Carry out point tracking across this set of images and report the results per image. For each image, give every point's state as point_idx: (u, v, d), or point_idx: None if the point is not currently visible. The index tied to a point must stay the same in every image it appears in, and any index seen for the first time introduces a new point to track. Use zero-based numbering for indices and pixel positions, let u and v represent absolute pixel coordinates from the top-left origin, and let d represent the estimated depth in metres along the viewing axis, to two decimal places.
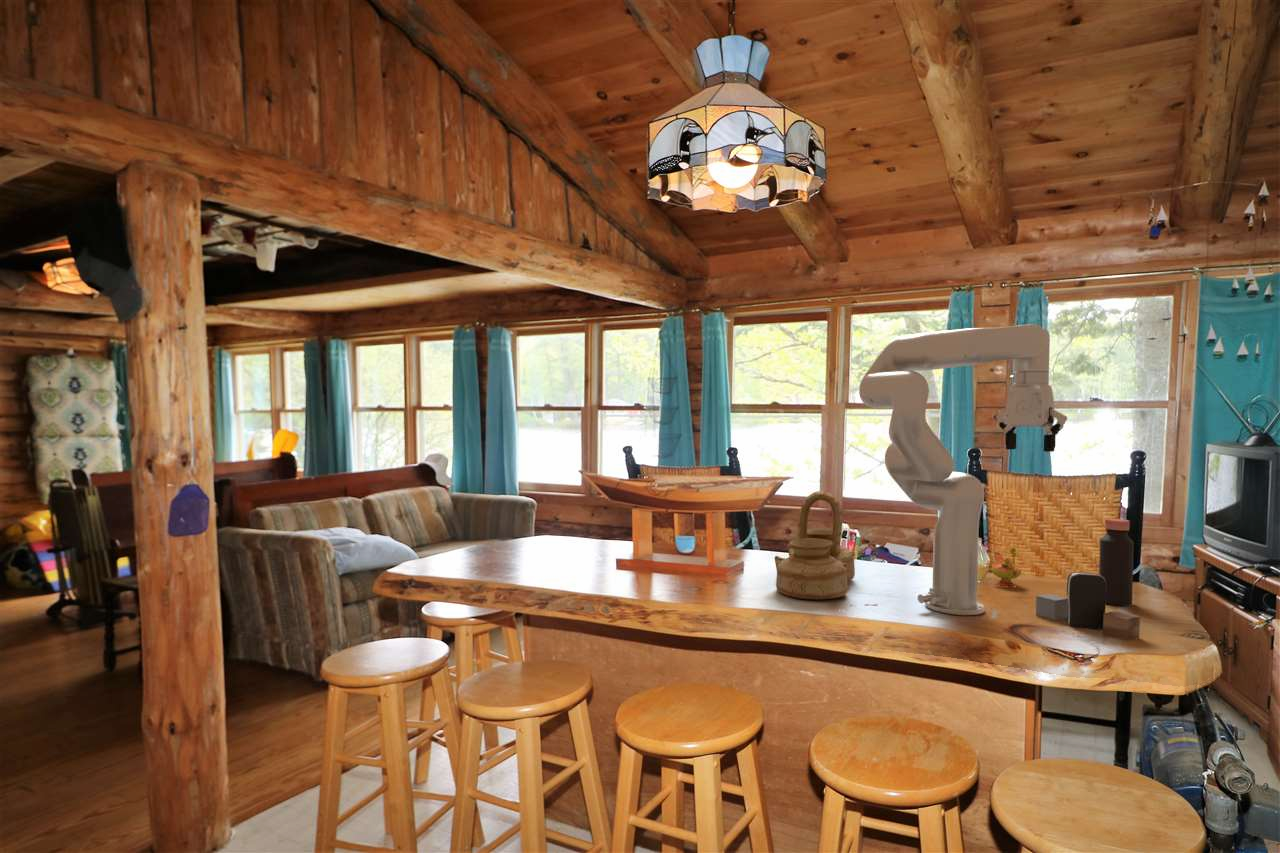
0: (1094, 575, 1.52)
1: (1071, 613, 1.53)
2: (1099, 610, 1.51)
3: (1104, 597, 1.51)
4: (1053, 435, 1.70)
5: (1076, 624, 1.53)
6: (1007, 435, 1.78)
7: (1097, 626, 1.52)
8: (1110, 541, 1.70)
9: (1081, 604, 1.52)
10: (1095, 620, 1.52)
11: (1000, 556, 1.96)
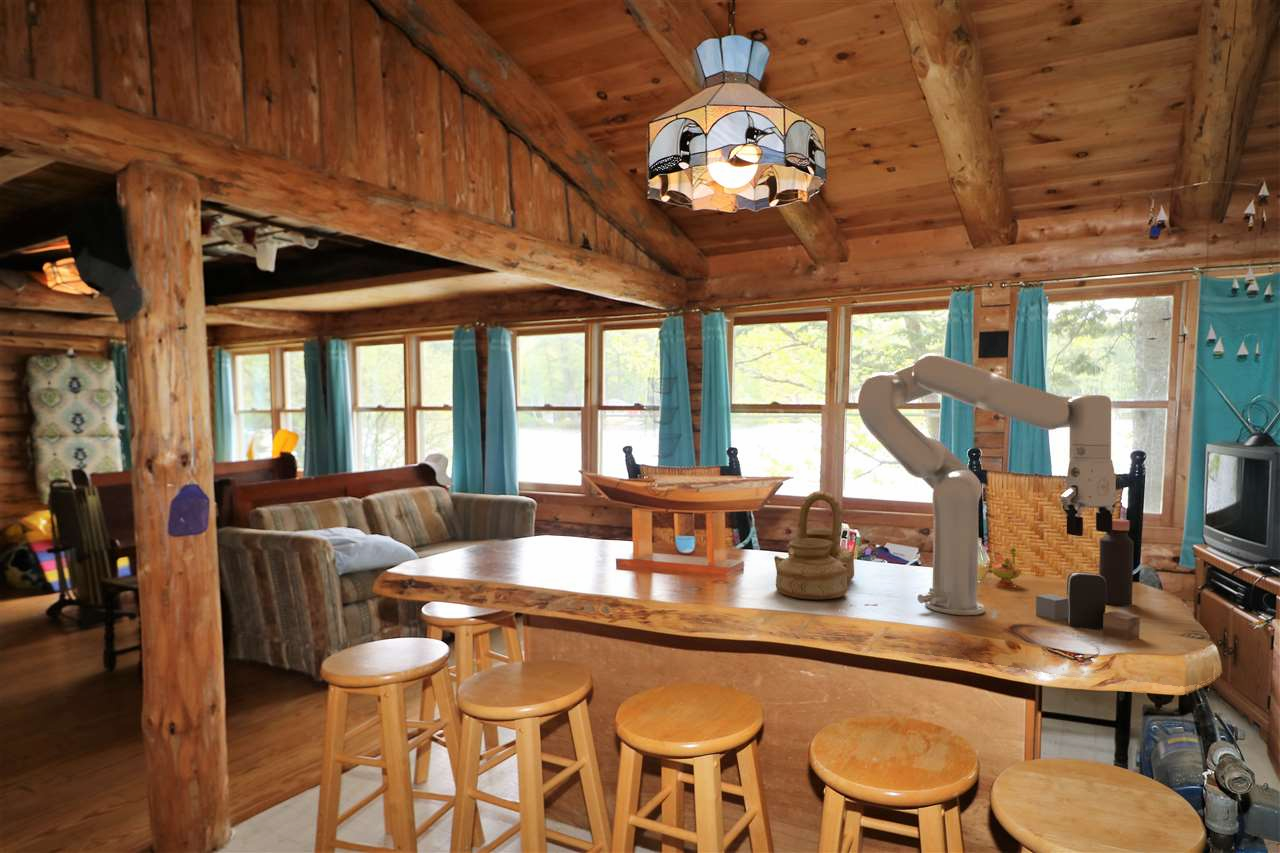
0: (1094, 575, 1.52)
1: (1071, 613, 1.53)
2: (1099, 610, 1.51)
3: (1104, 597, 1.51)
4: None
5: (1076, 624, 1.53)
6: (1082, 519, 1.50)
7: (1097, 626, 1.52)
8: (1110, 541, 1.70)
9: (1081, 604, 1.52)
10: (1095, 620, 1.52)
11: (1000, 556, 1.96)
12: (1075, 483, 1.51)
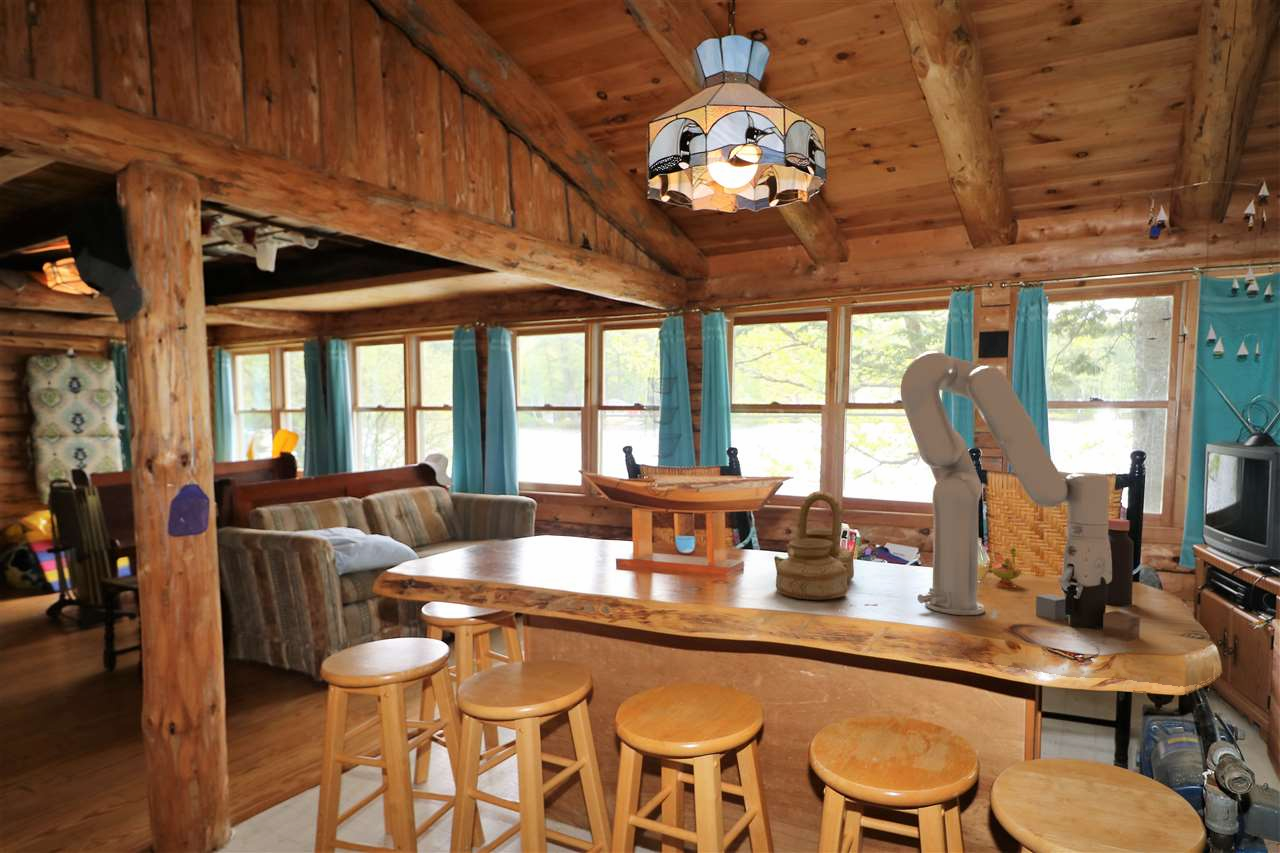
0: None
1: None
2: (1099, 610, 1.51)
3: (1104, 597, 1.51)
4: None
5: (1076, 624, 1.53)
6: (1081, 601, 1.51)
7: (1097, 626, 1.52)
8: (1110, 541, 1.70)
9: None
10: (1095, 620, 1.52)
11: (1000, 556, 1.96)
12: (1071, 562, 1.51)
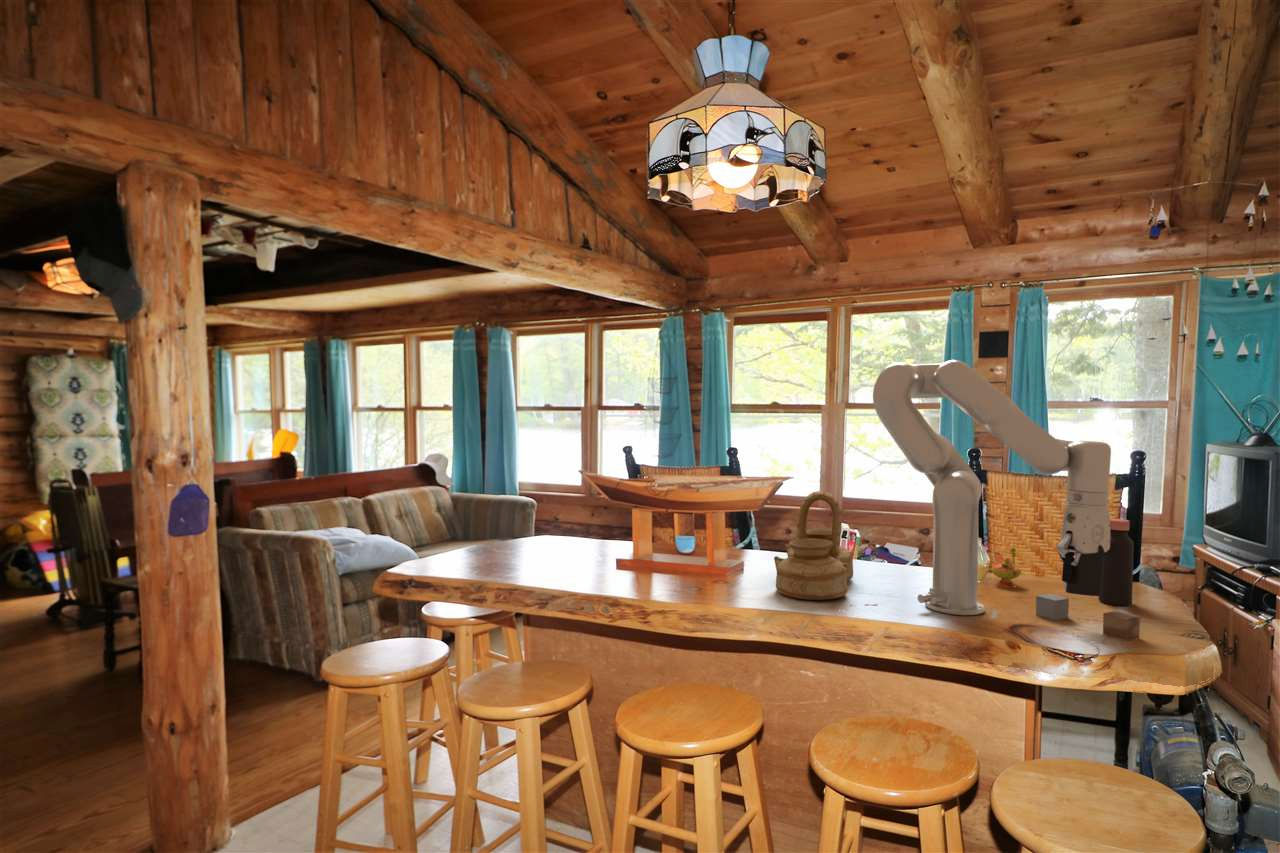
0: None
1: None
2: (1096, 578, 1.52)
3: (1102, 565, 1.51)
4: None
5: (1073, 591, 1.53)
6: (1078, 568, 1.51)
7: (1094, 594, 1.52)
8: (1110, 541, 1.70)
9: None
10: (1092, 588, 1.52)
11: (1000, 556, 1.96)
12: (1070, 529, 1.51)
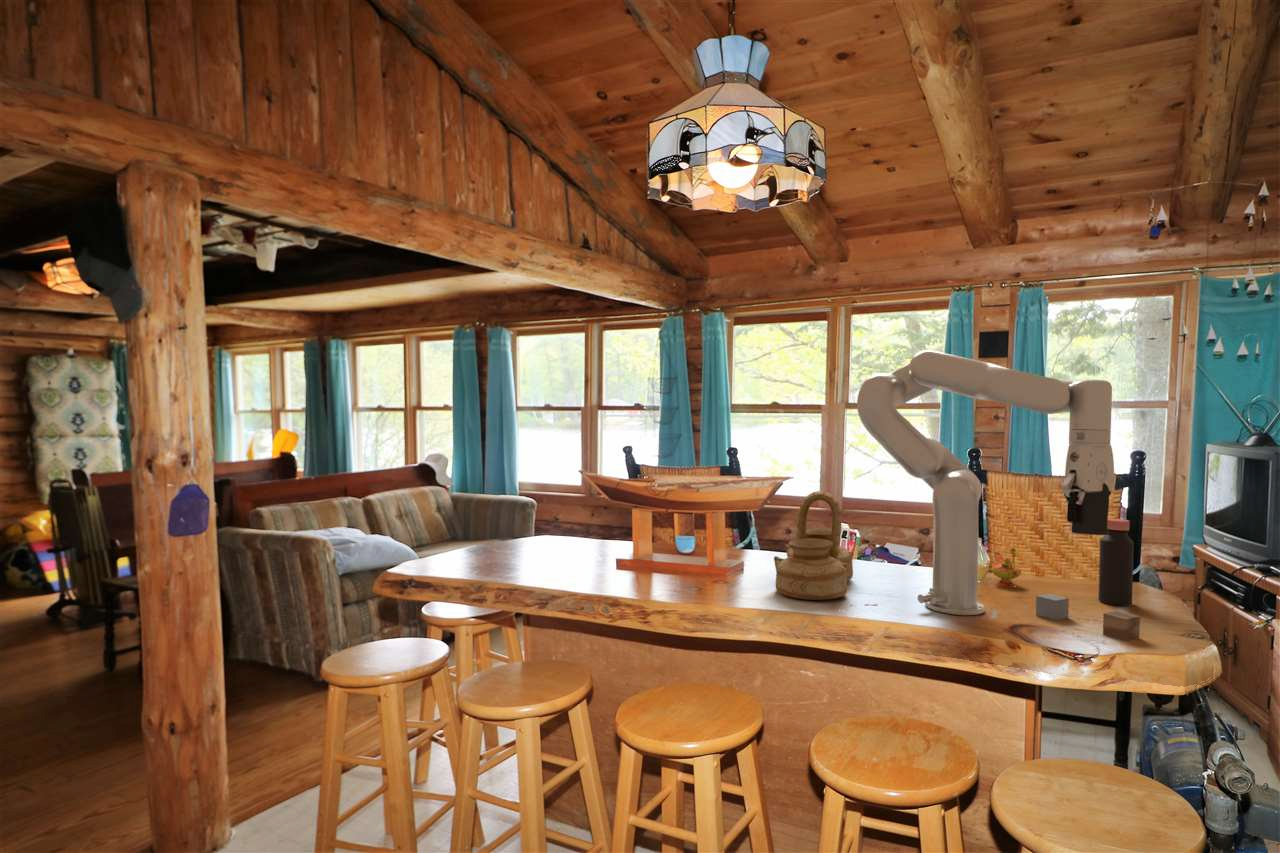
0: None
1: None
2: (1102, 516, 1.51)
3: (1107, 503, 1.51)
4: None
5: (1078, 531, 1.52)
6: (1083, 507, 1.50)
7: (1099, 532, 1.51)
8: (1110, 541, 1.70)
9: None
10: (1097, 526, 1.51)
11: (1000, 556, 1.96)
12: (1074, 468, 1.51)
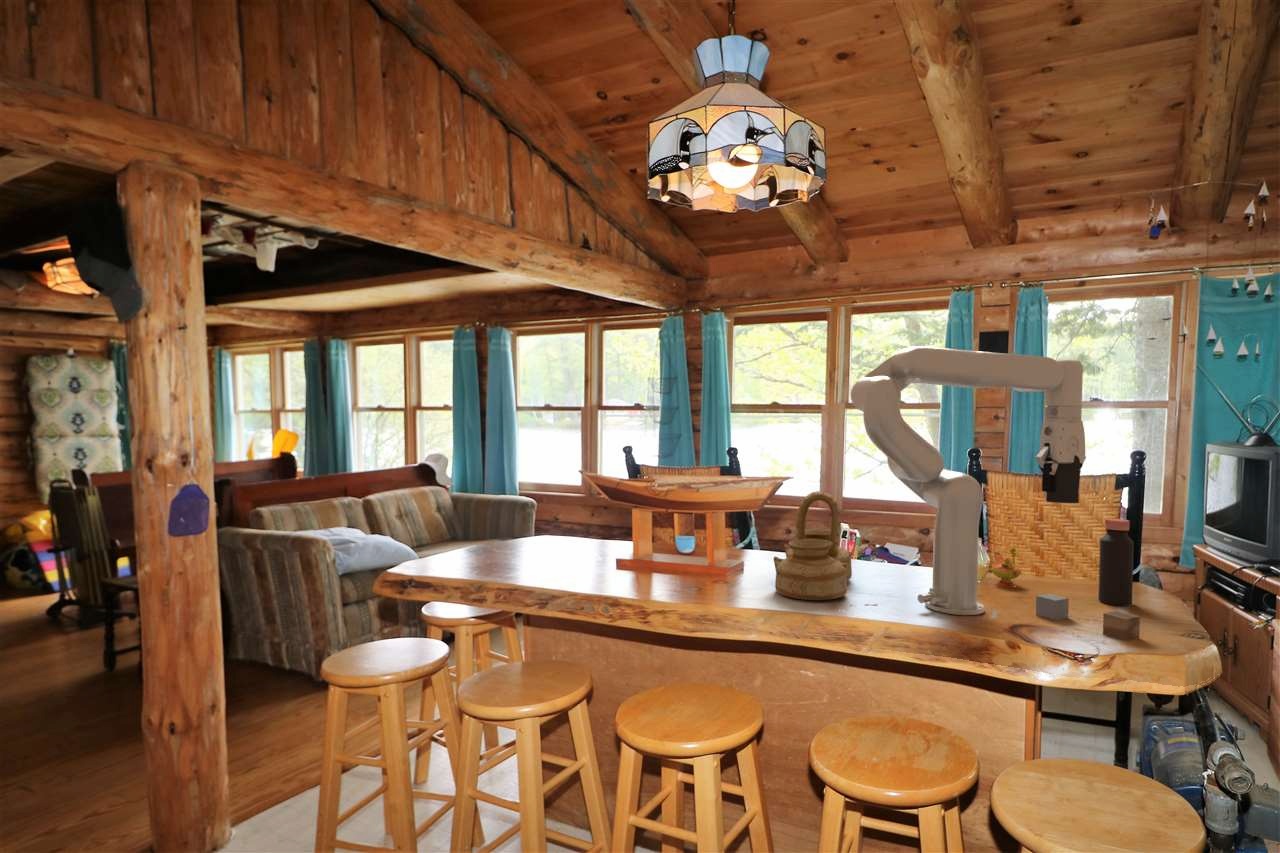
0: None
1: None
2: (1073, 486, 1.64)
3: (1078, 473, 1.63)
4: None
5: (1052, 500, 1.65)
6: (1056, 477, 1.63)
7: (1071, 501, 1.64)
8: (1110, 541, 1.70)
9: None
10: (1070, 495, 1.64)
11: (1000, 556, 1.96)
12: (1048, 441, 1.64)
